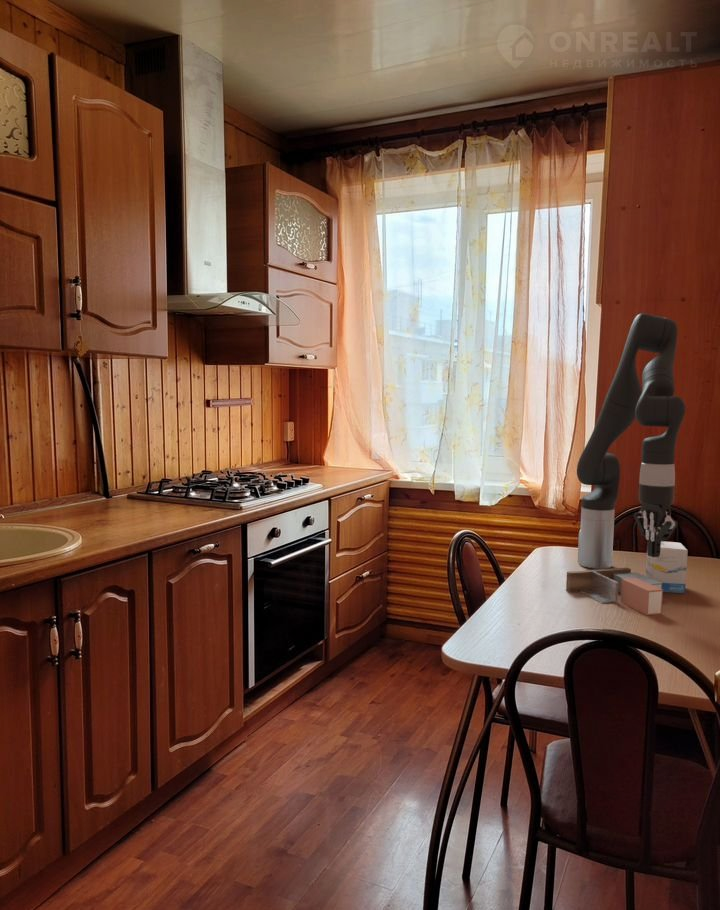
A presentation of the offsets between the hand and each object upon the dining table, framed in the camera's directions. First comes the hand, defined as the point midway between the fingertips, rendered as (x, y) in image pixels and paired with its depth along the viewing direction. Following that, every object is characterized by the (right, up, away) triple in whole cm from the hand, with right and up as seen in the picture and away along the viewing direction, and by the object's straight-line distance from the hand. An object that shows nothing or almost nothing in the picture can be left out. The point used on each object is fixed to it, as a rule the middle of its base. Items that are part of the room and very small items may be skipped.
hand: (653, 556), depth 163 cm
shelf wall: (-5, -11, +20) cm, 24 cm away
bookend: (-8, -12, +13) cm, 20 cm away
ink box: (+12, -12, +22) cm, 27 cm away
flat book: (+2, -12, +16) cm, 20 cm away
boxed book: (-1, -13, +5) cm, 14 cm away
